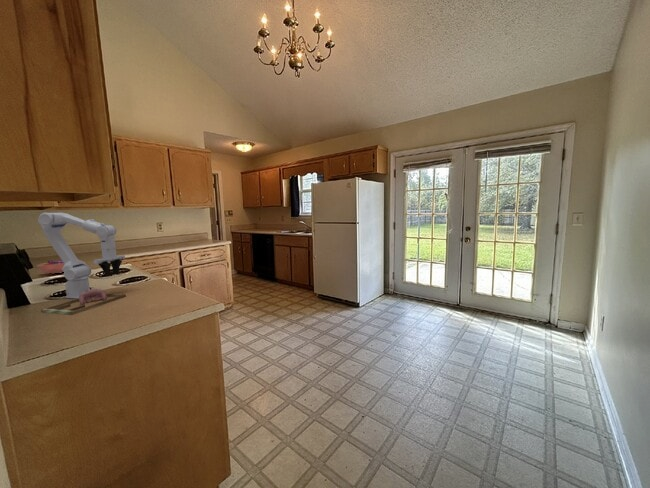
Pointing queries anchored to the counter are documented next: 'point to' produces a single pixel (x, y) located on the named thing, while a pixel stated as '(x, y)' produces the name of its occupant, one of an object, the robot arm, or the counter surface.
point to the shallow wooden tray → (80, 308)
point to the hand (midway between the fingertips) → (112, 275)
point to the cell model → (51, 267)
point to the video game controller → (95, 292)
